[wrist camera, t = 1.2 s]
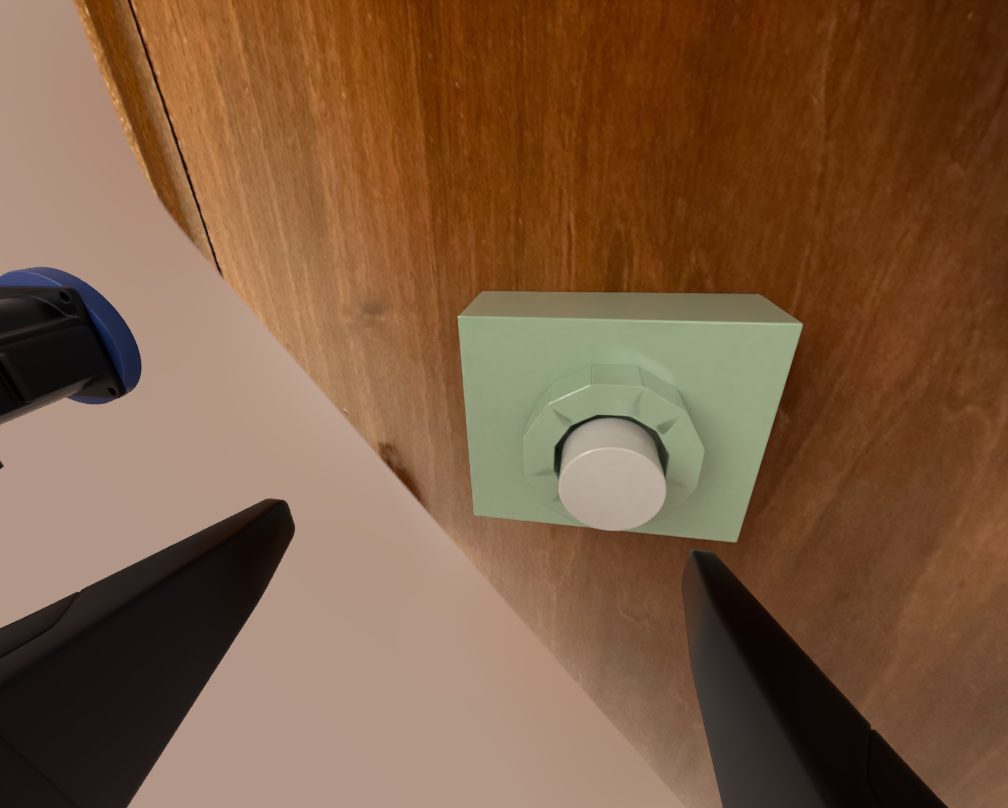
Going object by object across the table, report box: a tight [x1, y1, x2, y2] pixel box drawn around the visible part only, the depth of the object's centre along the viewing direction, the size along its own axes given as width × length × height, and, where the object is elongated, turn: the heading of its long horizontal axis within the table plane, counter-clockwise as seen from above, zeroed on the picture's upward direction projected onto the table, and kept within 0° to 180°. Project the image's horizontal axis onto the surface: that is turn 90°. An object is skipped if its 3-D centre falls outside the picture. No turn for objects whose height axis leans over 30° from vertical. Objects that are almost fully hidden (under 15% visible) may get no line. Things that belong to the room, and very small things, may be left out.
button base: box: [458, 291, 803, 542], centre depth 19 cm, size 12×10×6 cm
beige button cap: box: [558, 418, 667, 531], centre depth 15 cm, size 4×4×2 cm
